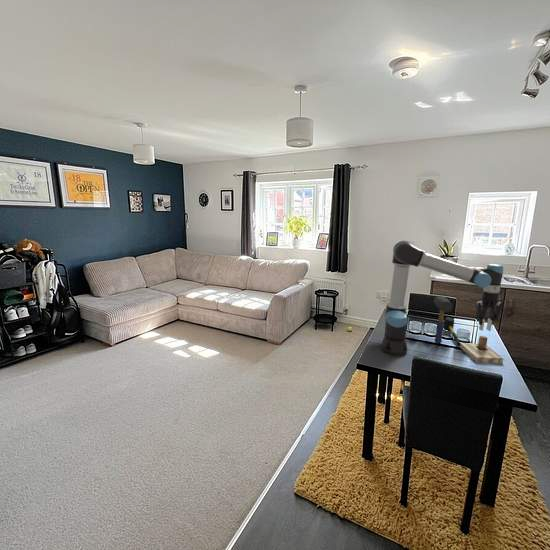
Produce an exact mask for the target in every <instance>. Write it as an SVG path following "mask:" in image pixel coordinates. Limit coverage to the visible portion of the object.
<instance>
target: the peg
mask: <svg viewBox="0 0 550 550" xmlns="http://www.w3.org/2000/svg"><path fill="white" fill-rule="evenodd" d="M488 339H489V338H488V337H487V336H485V335H479V336H478V343H477V344H478V349H479V350H486V345H487V342H488ZM487 346H488V345H487Z"/></svg>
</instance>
